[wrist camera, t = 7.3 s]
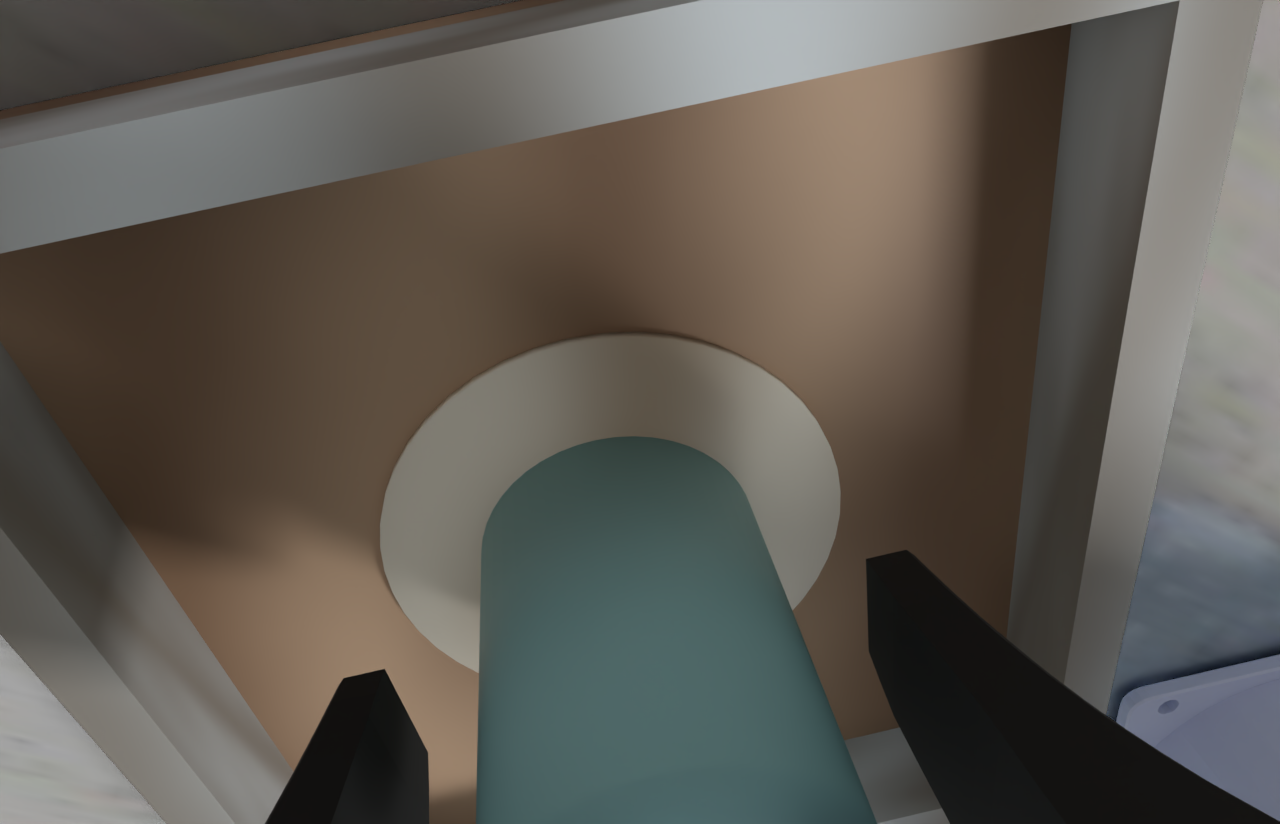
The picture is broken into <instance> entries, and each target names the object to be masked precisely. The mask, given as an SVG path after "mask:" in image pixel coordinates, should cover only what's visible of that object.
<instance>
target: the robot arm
mask: <svg viewBox="0 0 1280 824" xmlns="http://www.w3.org/2000/svg"><path fill="white" fill-rule="evenodd" d="M866 579H867V613H868V647H869V653H870V656H871V659H872V661H873V664H874V667H875V669H876V672H877V674H878V677H879V680H880V682H881V685H882V688H883V690H884V693H885V695H886V698H887V700H888V703H889V705H890V708H891V710H892V713H893V715H894V717H895V719H896V721H897V723H898V725H899V727H900V729H901V731H902V733H903V735H904V737H905V739H906V741H907V742H908V744H909V746H910V748H911V750H912V752H913V754H914V756H915V758H916V760H917V762H918V764H919V766H920V767H921V769H922V771H923V773H924V775H925V777H926V779H927V781H928V783H929V785H930V787H931V788H932V790H933V792H934V794H935V796H936V798H937V800H938V802H939V804H940V806H941V807H942V809H943V811H944V813H945V815H946V817H947V819H948V821H949V823H950V824H1280V654H1279V655H1274V656H1270V657H1266V658H1261V659H1257V660H1253V661H1249V662H1244V663H1240V664H1236V665H1232V666H1227V667H1223V668H1219V669H1214V670H1210V671H1206V672H1202V673H1197V674H1193V675H1189V676H1184V677H1180V678H1176V679H1172V680H1167V681H1163V682H1159V683H1155V684H1150V685H1146V686H1142V687H1139V688H1136V689H1134V690H1132V691H1130V692H1129V693H1127V694H1126V695H1125V696H1124V697H1123V699H1122V701H1121V703H1120V707H1119V711H1118V716H1117V720H1116V722H1115V721H1114V720H1112V719H1111V718H1109V717H1108V716H1106V715H1105V714H1104V713H1102V712H1101V711H1099V710H1098V709H1097V708H1095V707H1094V706H1092V705H1091V704H1090V703H1088V702H1087V701H1085V700H1084V699H1083V698H1081V697H1080V696H1079V695H1077V694H1076V693H1075V692H1073V691H1072V690H1071V689H1069V688H1068V687H1067V686H1065V685H1064V684H1063V683H1061V682H1060V681H1059V680H1057V679H1056V678H1055V677H1054V676H1052V675H1051V674H1050V673H1048V672H1047V671H1046V670H1045V669H1043V668H1042V667H1041V666H1040V665H1038V664H1037V663H1036V662H1034V661H1033V660H1032V659H1031V658H1030V657H1028V656H1027V655H1026V654H1025V653H1023V652H1022V651H1021V650H1020V649H1019V648H1017V647H1016V646H1015V645H1014V644H1013V643H1011V642H1010V641H1009V640H1008V639H1007V638H1005V637H1004V636H1003V635H1002V634H1000V633H999V632H998V631H997V630H996V629H994V628H993V627H992V626H991V625H990V624H989V623H988V622H986V621H985V620H984V619H983V618H982V617H981V616H979V615H978V614H977V613H976V612H975V611H974V610H973V609H972V608H970V607H969V606H968V605H967V604H966V603H965V602H964V601H963V600H962V599H960V598H959V597H958V596H957V595H956V594H955V593H954V592H953V591H952V590H951V589H949V588H948V587H947V586H946V585H945V584H944V583H943V582H942V581H941V580H940V579H939V578H938V577H937V576H936V575H935V574H933V573H932V572H931V571H930V570H929V569H928V568H927V567H926V566H925V565H924V564H923V563H922V562H921V561H920V560H919V559H918V558H917V557H916V556H915V555H914V554H912V553H911V552H909V551H908V550H902V551H898V552H894V553H889V554H885V555H881V556H876V557H872V558H867V559H866ZM265 824H429V764H428V751H427V749H426V748H425V746H424V744H423V742H422V740H421V738H420V736H419V734H418V732H417V730H416V728H415V726H414V724H413V722H412V721H411V719H410V717H409V715H408V713H407V711H406V709H405V707H404V705H403V703H402V701H401V699H400V697H399V695H398V694H397V692H396V690H395V688H394V686H393V684H392V682H391V680H390V678H389V676H388V674H387V672H386V670H385V669H382V670H377V671H373V672H368V673H364V674H360V675H355V676H351V677H346V678H343V680H342V681H341V683H340V684H339V686H338V687H337V689H336V691H335V693H334V695H333V697H332V699H331V701H330V703H329V705H328V707H327V709H326V711H325V713H324V715H323V717H322V719H321V721H320V722H319V724H318V726H317V728H316V730H315V732H314V734H313V736H312V738H311V740H310V742H309V744H308V746H307V748H306V749H305V751H304V753H303V755H302V757H301V759H300V761H299V763H298V765H297V766H296V768H295V770H294V772H293V774H292V776H291V778H290V779H289V781H288V783H287V785H286V787H285V788H284V790H283V792H282V794H281V796H280V797H279V799H278V801H277V803H276V805H275V806H274V808H273V810H272V812H271V814H270V815H269V817H268V819H267V821H266V822H265Z"/></svg>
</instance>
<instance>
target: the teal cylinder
mask: <svg viewBox="0 0 1280 824" xmlns="http://www.w3.org/2000/svg"><path fill="white" fill-rule="evenodd" d="M476 824H877V821H876V819H875V816H874V814H873V811H872V809H871V806H870V804H869V801H868V799H867V796H866V794H865V791H864V789H863V786H862V784H861V781H860V779H859V776H858V774H857V771H856V769H855V766H854V764H853V761H852V759H851V756H850V754H849V751H848V749H847V746H846V744H845V741H844V739H843V736H842V734H841V731H840V729H839V726H838V724H837V721H836V719H835V716H834V714H833V711H832V709H831V706H830V704H829V701H828V699H827V696H826V694H825V691H824V689H823V686H822V684H821V681H820V679H819V676H818V674H817V671H816V669H815V666H814V664H813V661H812V659H811V656H810V654H809V651H808V649H807V646H806V644H805V641H804V639H803V636H802V634H801V631H800V629H799V626H798V624H797V621H796V619H795V616H794V614H793V611H792V609H791V606H790V604H789V601H788V599H787V596H786V594H785V591H784V589H783V586H782V584H781V581H780V579H779V576H778V574H777V571H776V569H775V566H774V564H773V561H772V559H771V556H770V554H769V551H768V549H767V546H766V544H765V541H764V539H763V536H762V534H761V531H760V529H759V526H758V523H757V521H756V518H755V516H754V513H753V511H752V508H751V506H750V503H749V501H748V498H747V496H746V494H745V492H744V491H743V489H742V487H741V486H740V484H739V482H738V481H737V480H736V479H735V478H734V477H733V475H732V474H731V473H730V472H729V471H728V470H727V469H726V468H724V467H723V466H722V465H721V464H720V463H719V462H717V461H716V460H714V459H713V458H711V457H710V456H708V455H706V454H705V453H703V452H701V451H699V450H696V449H694V448H692V447H690V446H687V445H684V444H681V443H677V442H674V441H670V440H665V439H659V438H654V437H639V436H628V437H612V438H606V439H600V440H594V441H590V442H587V443H583V444H579V445H576V446H573V447H571V448H568V449H566V450H563V451H560V452H558V453H556V454H554V455H552V456H550V457H548V458H547V459H545V460H543V461H541V462H540V463H538V464H537V465H535V466H534V467H532V468H531V469H529V470H528V471H526V472H525V473H524V474H523V475H522V476H521V477H520V478H518V479H517V480H516V481H515V482H514V483H513V484H512V485H511V486H510V487H509V488H508V490H507V491H506V492H505V493H504V494H503V495H502V496H501V498H500V500H499V501H498V503H497V504H496V506H495V507H494V509H493V511H492V513H491V515H490V517H489V519H488V522H487V524H486V528H485V531H484V535H483V540H482V550H481V594H480V643H479V692H478V741H477V791H476Z"/></svg>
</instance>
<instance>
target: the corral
mask: <svg viewBox="0 0 1280 824" xmlns="http://www.w3.org/2000/svg"><path fill="white" fill-rule="evenodd" d="M1262 4H1263V0H521V1H517V2H512V3H507V4H502V5H498V6H493V7H488V8H483V9H479V10H474V11H469V12H464V13H460V14H455V15H450V16H446V17H441V18H436V19H431V20H427V21H422V22H417V23H412V24H408V25H403V26H398V27H393V28H389V29H384V30H379V31H374V32H370V33H365V34H360V35H355V36H351V37H346V38H341V39H336V40H332V41H327V42H322V43H318V44H313V45H308V46H303V47H299V48H294V49H289V50H284V51H280V52H275V53H270V54H265V55H261V56H256V57H251V58H246V59H242V60H237V61H232V62H227V63H223V64H218V65H213V66H208V67H204V68H199V69H194V70H189V71H185V72H180V73H175V74H171V75H166V76H161V77H156V78H152V79H147V80H142V81H137V82H133V83H128V84H123V85H118V86H114V87H109V88H104V89H99V90H95V91H90V92H85V93H80V94H76V95H71V96H66V97H61V98H57V99H52V100H47V101H43V102H38V103H33V104H28V105H24V106H19V107H14V108H9V109H5V110H0V634H1V635H2V637H3V638H4V639H5V640H6V641H7V642H8V643H9V645H10V646H11V647H12V648H13V649H14V650H15V651H16V653H17V654H18V655H19V656H20V657H21V658H22V659H23V661H24V662H25V663H26V664H27V665H28V666H29V667H30V669H31V670H32V671H33V672H34V673H35V674H36V675H37V676H38V678H39V679H40V680H41V681H42V682H43V683H44V684H45V686H46V687H47V688H48V689H49V690H50V691H51V692H52V694H53V695H54V696H55V697H56V698H57V699H58V700H59V702H60V703H61V704H62V705H63V706H64V707H65V708H66V710H67V711H68V712H69V713H70V714H71V715H72V716H73V718H74V719H75V720H76V721H77V722H78V723H79V724H80V726H81V727H82V728H83V729H84V730H85V731H86V732H87V734H88V735H89V736H90V737H91V738H92V739H93V740H94V742H95V743H96V744H97V745H98V746H99V747H100V748H101V750H102V751H103V752H104V753H105V754H106V755H107V756H108V758H109V759H110V760H111V761H112V762H113V763H114V764H115V766H116V767H117V768H118V769H119V770H120V771H121V772H122V774H123V775H124V776H125V777H126V778H127V779H128V780H129V781H130V783H131V784H132V785H133V786H134V787H135V788H136V789H137V791H138V792H139V793H140V794H141V795H142V796H143V797H144V799H145V800H146V801H147V802H148V803H149V804H150V805H151V807H152V808H153V809H154V810H155V811H156V812H157V813H158V815H159V816H160V817H161V818H162V819H163V820H164V821H165V823H166V824H265V822H266V821H267V819H268V817H269V815H270V814H271V812H272V810H273V808H274V806H275V805H276V803H277V801H278V799H279V797H280V796H281V794H282V792H283V790H284V788H285V787H286V785H287V783H288V781H289V779H290V778H291V776H292V774H293V772H294V770H295V768H296V766H297V765H298V763H299V761H300V759H301V757H302V755H303V753H304V751H305V749H306V748H307V746H308V744H309V742H310V740H311V738H312V736H313V734H314V732H315V730H316V728H317V726H318V724H319V722H320V721H321V719H322V717H323V715H324V713H325V711H326V709H327V707H328V705H329V703H330V701H331V699H332V697H333V695H334V693H335V691H336V689H337V687H338V686H339V684H340V683H341V681H342V680H343V678H346V677H351V676H355V675H360V674H364V673H368V672H373V671H377V670H382V669H385V670H386V672H387V674H388V676H389V678H390V680H391V682H392V684H393V686H394V688H395V690H396V692H397V694H398V695H399V697H400V699H401V701H402V703H403V705H404V707H405V709H406V711H407V713H408V715H409V717H410V719H411V721H412V722H413V724H414V726H415V728H416V730H417V732H418V734H419V736H420V738H421V740H422V742H423V744H424V746H425V748H426V749H427V751H428V764H429V824H476V791H477V741H478V692H479V643H480V594H481V550H482V540H483V535H484V531H485V528H486V524H487V522H488V519H489V517H490V515H491V513H492V511H493V509H494V507H495V506H496V504H497V503H498V501H499V500H500V498H501V496H502V495H503V494H504V493H505V492H506V491H507V490H508V488H509V487H510V486H511V485H512V484H513V483H514V482H515V481H516V480H517V479H518V478H520V477H521V476H522V475H523V474H524V473H525V472H526V471H528V470H529V469H531V468H532V467H534V466H535V465H537V464H538V463H540V462H541V461H543V460H545V459H547V458H548V457H550V456H552V455H554V454H556V453H558V452H560V451H563V450H566V449H568V448H571V447H573V446H576V445H579V444H583V443H587V442H590V441H594V440H600V439H606V438H612V437H628V436H639V437H654V438H659V439H665V440H670V441H674V442H677V443H681V444H684V445H687V446H690V447H692V448H694V449H696V450H699V451H701V452H703V453H705V454H706V455H708V456H710V457H711V458H713V459H714V460H716V461H717V462H719V463H720V464H721V465H722V466H723V467H724V468H726V469H727V470H728V471H729V472H730V473H731V474H732V475H733V477H734V478H735V479H736V480H737V481H738V482H739V484H740V486H741V487H742V489H743V491H744V492H745V494H746V496H747V498H748V501H749V503H750V506H751V508H752V511H753V513H754V516H755V518H756V521H757V523H758V526H759V529H760V531H761V534H762V536H763V539H764V541H765V544H766V546H767V549H768V551H769V554H770V556H771V559H772V561H773V564H774V566H775V569H776V571H777V574H778V576H779V579H780V581H781V584H782V586H783V589H784V591H785V594H786V596H787V599H788V601H789V604H790V606H791V609H792V611H793V614H794V616H795V619H796V621H797V624H798V626H799V629H800V631H801V634H802V636H803V639H804V641H805V644H806V646H807V649H808V651H809V654H810V656H811V659H812V661H813V664H814V666H815V669H816V671H817V674H818V676H819V679H820V681H821V684H822V686H823V689H824V691H825V694H826V696H827V699H828V701H829V704H830V706H831V709H832V711H833V714H834V716H835V719H836V721H837V724H838V726H839V729H840V731H841V734H842V736H843V739H844V741H845V744H846V746H847V749H848V751H849V754H850V756H851V759H852V761H853V764H854V766H855V769H856V771H857V774H858V776H859V779H860V781H861V784H862V786H863V789H864V791H865V794H866V796H867V799H868V801H869V804H870V806H871V809H872V811H873V814H874V816H875V819H876V821H877V824H950V823H949V821H948V819H947V817H946V815H945V813H944V811H943V809H942V807H941V806H940V804H939V802H938V800H937V798H936V796H935V794H934V792H933V790H932V788H931V787H930V785H929V783H928V781H927V779H926V777H925V775H924V773H923V771H922V769H921V767H920V766H919V764H918V762H917V760H916V758H915V756H914V754H913V752H912V750H911V748H910V746H909V744H908V742H907V741H906V739H905V737H904V735H903V733H902V731H901V729H900V727H899V725H898V723H897V721H896V719H895V717H894V715H893V713H892V710H891V708H890V705H889V703H888V700H887V698H886V695H885V693H884V690H883V688H882V685H881V682H880V680H879V677H878V674H877V672H876V669H875V667H874V664H873V661H872V659H871V656H870V653H869V647H868V613H867V579H866V559H867V558H872V557H876V556H881V555H885V554H889V553H894V552H898V551H902V550H908V551H909V552H911V553H912V554H914V555H915V556H916V557H917V558H918V559H919V560H920V561H921V562H922V563H923V564H924V565H925V566H926V567H927V568H928V569H929V570H930V571H931V572H932V573H933V574H935V575H936V576H937V577H938V578H939V579H940V580H941V581H942V582H943V583H944V584H945V585H946V586H947V587H948V588H949V589H951V590H952V591H953V592H954V593H955V594H956V595H957V596H958V597H959V598H960V599H962V600H963V601H964V602H965V603H966V604H967V605H968V606H969V607H970V608H972V609H973V610H974V611H975V612H976V613H977V614H978V615H979V616H981V617H982V618H983V619H984V620H985V621H986V622H988V623H989V624H990V625H991V626H992V627H993V628H994V629H996V630H997V631H998V632H999V633H1000V634H1002V635H1003V636H1004V637H1005V638H1007V639H1008V640H1009V641H1010V642H1011V643H1013V644H1014V645H1015V646H1016V647H1017V648H1019V649H1020V650H1021V651H1022V652H1023V653H1025V654H1026V655H1027V656H1028V657H1030V658H1031V659H1032V660H1033V661H1034V662H1036V663H1037V664H1038V665H1040V666H1041V667H1042V668H1043V669H1045V670H1046V671H1047V672H1048V673H1050V674H1051V675H1052V676H1054V677H1055V678H1056V679H1057V680H1059V681H1060V682H1061V683H1063V684H1064V685H1065V686H1067V687H1068V688H1069V689H1071V690H1072V691H1073V692H1075V693H1076V694H1077V695H1079V696H1080V697H1081V698H1083V699H1084V700H1085V701H1087V702H1088V703H1090V704H1091V705H1092V706H1094V707H1095V708H1097V709H1098V710H1099V711H1101V712H1102V713H1104V714H1105V715H1106V712H1107V708H1108V703H1109V699H1110V694H1111V690H1112V685H1113V681H1114V676H1115V671H1116V667H1117V662H1118V658H1119V653H1120V649H1121V644H1122V640H1123V635H1124V631H1125V626H1126V621H1127V617H1128V612H1129V608H1130V603H1131V599H1132V594H1133V590H1134V585H1135V581H1136V576H1137V571H1138V567H1139V562H1140V558H1141V553H1142V549H1143V544H1144V540H1145V535H1146V531H1147V526H1148V522H1149V517H1150V512H1151V508H1152V503H1153V499H1154V494H1155V490H1156V485H1157V481H1158V476H1159V472H1160V467H1161V462H1162V458H1163V453H1164V449H1165V444H1166V440H1167V435H1168V431H1169V426H1170V422H1171V417H1172V412H1173V408H1174V403H1175V399H1176V394H1177V390H1178V385H1179V381H1180V376H1181V372H1182V367H1183V362H1184V358H1185V353H1186V349H1187V344H1188V340H1189V335H1190V331H1191V326H1192V322H1193V317H1194V312H1195V308H1196V303H1197V299H1198V294H1199V290H1200V285H1201V281H1202V276H1203V272H1204V267H1205V263H1206V258H1207V253H1208V249H1209V244H1210V240H1211V235H1212V231H1213V226H1214V222H1215V217H1216V213H1217V208H1218V203H1219V199H1220V194H1221V190H1222V185H1223V181H1224V176H1225V172H1226V167H1227V163H1228V158H1229V153H1230V149H1231V144H1232V140H1233V135H1234V131H1235V126H1236V122H1237V117H1238V113H1239V108H1240V103H1241V99H1242V94H1243V90H1244V85H1245V81H1246V76H1247V72H1248V67H1249V63H1250V58H1251V53H1252V49H1253V44H1254V40H1255V35H1256V31H1257V26H1258V22H1259V17H1260V13H1261V8H1262Z"/></svg>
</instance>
